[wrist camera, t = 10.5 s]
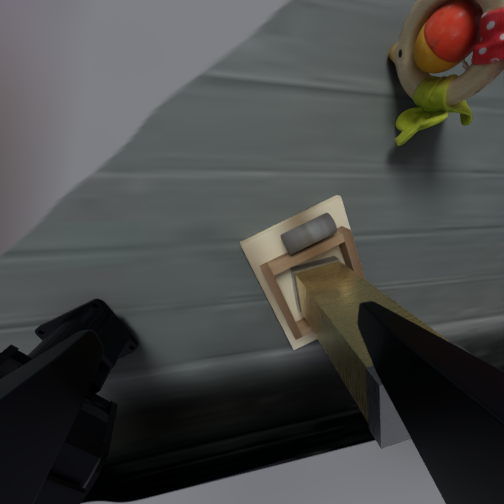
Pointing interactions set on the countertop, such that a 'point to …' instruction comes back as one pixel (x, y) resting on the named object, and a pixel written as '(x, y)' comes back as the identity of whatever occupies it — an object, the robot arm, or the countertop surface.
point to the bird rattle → (446, 58)
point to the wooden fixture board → (299, 259)
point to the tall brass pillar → (350, 337)
